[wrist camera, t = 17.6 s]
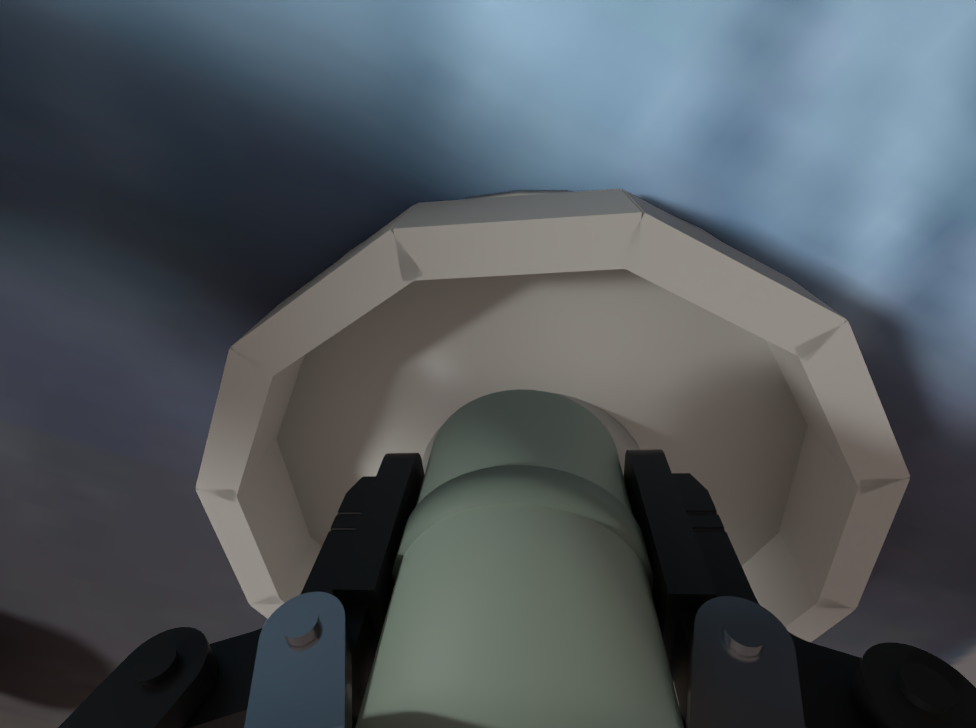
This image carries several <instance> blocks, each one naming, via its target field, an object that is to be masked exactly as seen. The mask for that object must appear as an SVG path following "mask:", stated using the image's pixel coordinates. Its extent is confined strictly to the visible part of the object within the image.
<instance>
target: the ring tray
mask: <svg viewBox="0 0 976 728" xmlns="http://www.w3.org/2000/svg"><path fill="white" fill-rule="evenodd" d="M517 389H524V390H538V391H545V392H549V393H553V394H557V395H560V396H563V397H565V398H568V399H570V400H572V401H574V402H576V403H578V404H580V405H582V406H583V407H585V408H586V409H587V410H589V411H590V412H592V413H593V414H594V415H595V416H596V417H597V418H598V419H599V420H600V421H601V422H602V423H603V424H604V426H605V427H606V428H607V429H608V431H609V433H610V434H611V436H612V438H613V440H614V443H615V445H616V448H617V451H618V456H619V460H620V464H621V468H622V472H623V476H624V464H625V453H626V451H627V450H651V449H661V450H663V452H664V454H665V456H666V459H667V462H668V464H669V467H670V470H671V472H672V473H690V474H691V475H692V476H693V477H694V478H695V479H696V480H697V481H698V482H700V483H701V484H702V485H703V486H704V487H705V488H706V489H707V490H708V492H709V494H710V496H711V499H712V501H713V503H714V505H715V508H716V510H717V515H719V517H720V519H721V521H722V523H723V526H724V530H725V532H727V535H728V537H729V539H730V541H731V543H732V546H733V548H734V550H735V552H736V555H737V557H738V559H739V561H740V564H741V566H742V568H743V570H744V573H745V575H746V577H747V579H748V581H749V584H750V586H751V588H752V590H753V593H754V595H755V597H756V599H757V601H758V603H759V604H760V606H762V607H764V608H765V609H767V610H768V611H769V612H771V613H772V614H773V615H774V616H775V617H777V618H778V619H779V620H780V621H781V623H782V624H783V625H784V626H785V627H786V629H787V631H788V632H790V633H792V634H793V635H795V636H797V637H799V638H801V639H803V640H805V641H808V642H812V641H813V640H815V639H816V638H817V637H819V636H820V635H821V634H823V633H824V632H826V631H827V630H828V629H830V628H831V627H832V626H834V625H835V624H837V623H838V622H839V621H841V620H842V619H843V618H845V617H846V616H848V615H849V614H850V613H852V612H853V611H854V610H855V609H854V608H857V606H858V604H859V601H860V599H861V596H862V594H863V592H864V589H865V587H866V584H867V582H868V579H869V577H870V575H871V572H872V570H873V567H874V565H875V563H876V560H877V558H878V555H879V553H880V550H881V548H882V546H883V543H884V541H885V538H886V536H887V534H888V531H889V529H890V526H891V524H892V521H893V519H894V517H895V514H896V512H897V509H898V507H899V505H900V502H901V500H902V497H903V495H904V492H905V490H906V488H907V485H908V483H909V480H910V478H909V477H910V474H909V472H908V469H907V467H906V464H905V462H904V459H903V457H902V454H901V452H900V449H899V447H898V444H897V442H896V439H895V437H894V434H893V432H892V429H891V427H890V424H889V422H888V419H887V417H886V414H885V412H884V409H883V407H882V404H881V402H880V399H879V397H878V394H877V392H876V389H875V387H874V384H873V382H872V379H871V377H870V374H869V371H868V369H867V366H866V364H865V361H864V359H863V356H862V354H861V351H860V349H859V346H858V344H857V341H856V339H855V336H854V334H853V331H852V329H851V326H850V324H849V321H847V320H846V319H845V318H844V317H843V316H841V315H840V314H839V313H837V312H836V311H834V310H833V309H832V308H830V307H829V306H828V305H826V304H825V303H823V302H822V301H821V300H819V299H818V298H817V297H815V296H814V295H812V294H811V293H810V292H808V291H807V290H805V289H804V288H803V287H801V286H800V285H799V284H797V283H796V282H794V281H793V280H792V279H790V278H789V277H787V276H785V275H783V274H781V273H779V272H777V271H776V270H774V269H772V268H770V267H768V266H766V265H764V264H762V263H761V262H759V261H757V260H755V259H753V258H751V257H749V256H747V255H746V254H744V253H742V252H740V251H738V250H736V249H734V248H732V247H731V246H729V245H727V244H725V243H723V242H722V241H720V240H718V239H717V238H715V237H714V236H712V235H711V234H709V233H707V232H706V231H704V230H703V229H701V228H700V227H697V226H695V225H693V224H691V223H688V222H686V221H684V220H681V219H679V218H677V217H675V216H672V215H670V214H669V213H667V212H665V211H663V210H661V209H659V208H657V207H655V206H654V205H652V204H650V203H648V202H646V201H644V200H642V199H640V198H639V197H637V196H635V195H633V194H631V193H629V192H627V191H625V190H624V189H622V190H621V189H620V188H619V189H605V190H591V191H577V192H576V191H568V190H515V191H508V192H501V193H494V194H487V195H480V196H473V197H468V198H464V199H461V200H449V201H435V202H421V203H417V204H416V205H415V204H414V205H412V206H411V207H410V208H408V209H407V210H406V211H404V212H403V213H402V214H400V215H399V216H398V217H396V218H395V219H393V220H392V221H391V222H389V223H388V224H387V225H385V226H384V227H383V228H381V229H380V230H379V231H377V232H376V233H375V234H373V235H372V236H371V237H369V238H368V239H366V240H365V241H363V242H362V243H360V244H359V245H357V246H355V247H354V248H352V249H351V250H350V251H349V252H347V253H346V254H345V255H344V256H343V257H342V258H340V259H339V260H338V261H337V262H335V263H334V264H333V265H331V266H330V267H329V268H327V269H326V270H325V271H323V272H322V273H321V274H319V275H318V276H316V277H315V278H314V279H312V280H311V281H310V282H308V283H307V284H306V285H304V286H303V287H302V288H300V289H299V290H298V291H296V292H295V293H293V294H292V295H291V296H289V297H288V298H287V299H285V300H284V301H283V302H281V303H280V304H279V305H277V306H276V307H275V308H274V309H273V310H272V311H271V312H270V313H268V314H267V315H266V316H265V317H264V318H263V319H262V320H260V321H259V322H258V323H257V324H256V325H255V326H254V327H252V328H251V329H250V330H249V331H248V332H247V333H246V334H245V335H243V336H242V337H241V338H240V339H239V340H238V341H237V342H235V343H234V344H233V345H232V346H231V348H230V349H229V352H228V356H227V360H226V364H225V368H224V373H223V377H222V381H221V385H220V389H219V393H218V397H217V401H216V406H215V410H214V414H213V418H212V422H211V426H210V430H209V434H208V438H207V443H206V447H205V451H204V455H203V459H202V463H201V467H200V471H199V476H198V480H197V484H196V488H197V489H196V492H197V494H198V496H199V498H200V500H201V502H202V504H203V507H204V509H205V511H206V513H207V515H208V517H209V519H210V521H211V524H212V526H213V528H214V530H215V532H216V534H217V536H218V539H219V541H220V543H221V545H222V547H223V549H224V551H225V553H226V556H227V558H228V560H229V562H230V564H231V566H232V568H233V571H234V573H235V575H236V577H237V579H238V581H239V583H240V585H241V588H242V590H243V592H244V594H245V596H246V598H247V600H248V603H249V604H251V606H252V607H253V608H254V609H256V610H257V611H258V612H260V613H261V614H262V615H264V616H265V617H266V618H267V619H268V618H269V617H270V616H271V615H272V613H273V612H274V611H275V610H276V609H277V608H279V607H280V606H281V605H282V604H284V603H285V602H287V601H288V600H290V599H292V598H294V597H296V596H298V595H300V594H301V592H302V590H303V588H304V585H305V583H306V581H307V579H308V577H309V574H310V572H311V570H312V568H313V565H314V563H315V561H316V559H317V557H318V554H319V552H320V550H321V548H322V545H323V543H324V541H325V539H326V537H327V534H328V532H329V531H331V525H332V523H333V521H334V519H335V517H336V515H338V510H339V508H340V505H341V503H342V501H343V499H344V497H345V494H346V493H347V492H348V491H349V490H350V489H351V488H352V487H353V486H354V485H355V484H356V483H357V482H358V481H359V480H360V479H361V478H362V477H365V476H376V475H377V473H378V470H379V468H380V465H381V462H382V460H383V458H384V456H385V454H387V453H419V454H420V456H421V459H422V464H423V470H424V475H425V471H426V468H427V464H428V460H429V457H430V453H431V449H432V446H433V442H434V440H435V438H436V435H437V433H438V431H439V430H440V428H441V427H442V425H443V424H444V423H445V422H446V420H447V419H448V418H449V417H450V416H451V415H452V414H453V413H455V412H456V411H457V410H458V409H459V408H461V407H462V406H464V405H466V404H467V403H469V402H471V401H473V400H475V399H477V398H479V397H482V396H485V395H488V394H491V393H495V392H500V391H505V390H517ZM673 683H674V682H673ZM674 687H675V686H674ZM675 691H676V690H675ZM676 695H677V694H676ZM677 699H678V698H677ZM678 704H679V702H678Z"/></svg>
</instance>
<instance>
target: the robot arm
mask: <svg viewBox="0 0 976 728" xmlns="http://www.w3.org/2000/svg"><path fill="white" fill-rule="evenodd" d="M423 479H424V470H423V464H422V459H421V456H420V454H419V453H387V454H385V456H384V458H383V460H382V462H381V465H380V468H379V470H378V473H377V475H376V476H365V477H362V478H361V479H360V480H359V481H358V482H357V483H356V484H355V485H354V486H353V487H352V488H351V489H350V490H349V491H348V492H347V493H346V494H345V497H344V499H343V501H342V503H341V505H340V508H339V510H338V515H336V517H335V519H334V521H333V523H332V525H331V531H329V532H328V534H327V537H326V539H325V541H324V543H323V545H322V548H321V550H320V552H319V554H318V557H317V559H316V561H315V563H314V565H313V568H312V570H311V572H310V574H309V577H308V579H307V581H306V583H305V585H304V588H303V590H302V592H301V594H300V595H298V596H296V597H294V598H292V599H290V600H288V601H287V602H285V603H284V604H282V605H281V606H280V607H279V608H277V609H276V610H275V611H274V612H273V613H272V615H271V616H270V617H269V618H268V620H267V621H266V623H265V624H264V626H263V628H261V629H259V630H256V631H253V632H250V633H246V634H243V635H240V636H236V637H233V638H229V639H226V640H222V641H219V642H215V643H212V644H209V643H208V641H207V639H206V637H205V636H204V634H203V633H202V632H201V631H199V630H197V629H195V628H190V627H180V628H174V629H170V630H167V631H165V632H162V633H160V634H158V635H156V636H154V637H152V638H150V639H149V640H147V641H146V642H144V643H143V644H141V645H140V646H139V647H138V648H136V649H135V650H134V651H133V652H132V653H131V654H130V655H129V656H128V657H127V658H126V659H125V660H124V661H123V662H122V663H121V664H120V665H119V666H118V667H117V668H116V669H115V670H114V671H113V672H112V673H111V674H110V675H109V676H108V677H107V678H106V679H105V680H104V681H103V682H102V683H101V684H100V685H99V686H98V687H97V688H96V690H95V691H94V692H93V693H92V694H91V695H90V696H89V697H88V698H87V699H86V700H85V701H84V702H83V703H82V704H81V705H80V706H79V707H78V708H77V709H76V710H75V711H74V712H73V713H72V714H71V715H70V716H69V717H68V718H67V719H66V720H65V721H64V722H63V723H62V724H61V725H60V726H59V727H58V728H355V727H356V723H357V720H358V716H359V712H360V709H361V705H362V701H363V698H364V694H365V690H366V687H367V683H368V680H369V676H370V672H371V669H372V665H373V661H374V658H375V654H376V650H377V647H378V643H379V639H380V636H381V632H382V628H383V625H384V621H385V617H386V614H387V610H388V606H389V603H390V599H391V596H392V592H393V588H394V585H395V584H394V580H393V576H392V571H393V567H394V563H395V559H396V555H397V552H398V548H399V545H400V541H401V538H402V534H403V531H404V528H405V525H406V523H407V520H408V518H409V516H410V514H411V513H412V511H413V510H414V509H415V507H416V504H417V501H418V497H419V493H420V490H421V486H422V482H423ZM624 480H625V485H626V489H627V493H628V497H629V501H630V505H631V509H632V513H633V516H634V518H635V519H636V521H637V523H638V524H639V526H640V528H641V531H642V533H643V536H644V539H645V543H646V547H647V551H648V554H649V558H650V562H651V566H652V570H653V574H654V581H653V589H652V596H653V600H654V604H655V608H656V613H657V617H658V621H659V625H660V629H661V633H662V637H663V642H664V646H665V650H666V654H667V658H668V662H669V666H670V670H671V675H672V679H673V682H674V686H675V690H676V694H677V698H678V702H679V708H680V712H681V716H682V720H683V724H684V728H976V688H975V687H974V686H973V685H972V684H971V683H970V682H969V681H968V680H967V679H966V678H965V677H964V676H963V675H961V674H960V673H959V672H958V671H957V670H956V669H954V668H953V667H952V666H950V665H949V664H947V663H946V662H944V661H943V660H941V659H939V658H938V657H936V656H934V655H932V654H930V653H928V652H926V651H924V650H921V649H919V648H916V647H913V646H910V645H906V644H900V643H881V644H877V645H875V646H872V647H871V648H870V649H868V650H867V651H866V653H865V654H864V656H863V658H860V657H856V656H853V655H850V654H846V653H843V652H840V651H836V650H833V649H830V648H826V647H823V646H820V645H816V644H813V643H811V642H808V641H805V640H803V639H801V638H799V637H797V636H795V635H793V634H792V633H790V632H788V631H787V629H786V627H785V626H784V625H783V624H782V623H781V621H780V620H779V619H778V618H777V617H775V616H774V615H773V614H772V613H771V612H769V611H768V610H767V609H765V608H764V607H762V606H760V604H759V603H758V601H757V599H756V597H755V595H754V593H753V590H752V588H751V586H750V584H749V581H748V579H747V577H746V575H745V573H744V570H743V568H742V566H741V564H740V561H739V559H738V557H737V555H736V552H735V550H734V548H733V546H732V543H731V541H730V539H729V537H728V535H727V532H725V530H724V526H723V523H722V521H721V519H720V517H719V515H717V510H716V508H715V505H714V503H713V501H712V499H711V496H710V494H709V492H708V490H707V489H706V488H705V487H704V486H703V485H702V484H701V483H700V482H698V481H697V480H696V479H695V478H694V477H693V476H692V475H691V474H690V473H672V472H671V470H670V467H669V464H668V462H667V459H666V456H665V454H664V452H663V450H661V449H651V450H627V451H626V453H625V464H624Z"/></svg>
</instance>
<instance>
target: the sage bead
mask: <svg viewBox="0 0 976 728" xmlns="http://www.w3.org/2000/svg"><path fill="white" fill-rule="evenodd" d="M392 576H393V580H394V584H395V585H394V588H393V592H392V596H391V599H390V603H389V606H388V610H387V614H386V617H385V621H384V625H383V628H382V632H381V636H380V639H379V643H378V647H377V650H376V654H375V658H374V661H373V665H372V669H371V672H370V676H369V680H368V683H367V687H366V690H365V694H364V698H363V701H362V705H361V709H360V712H359V716H358V720H357V723H356V727H355V728H684V724H683V720H682V716H681V712H680V708H679V704H678V699H677V695H676V691H675V687H674V683H673V679H672V675H671V670H670V666H669V662H668V658H667V654H666V650H665V646H664V642H663V637H662V633H661V629H660V625H659V621H658V617H657V613H656V608H655V604H654V600H653V596H652V589H653V581H654V574H653V570H652V566H651V562H650V558H649V554H648V551H647V547H646V543H645V539H644V536H643V533H642V531H641V528H640V526H639V524H638V523H637V521H636V519H635V518H634V516H633V513H632V509H631V505H630V501H629V497H628V493H627V489H626V485H625V480H624V476H623V472H622V468H621V464H620V460H619V456H618V451H617V448H616V445H615V443H614V440H613V438H612V436H611V434H610V433H609V431H608V429H607V428H606V427H605V426H604V424H603V423H602V422H601V421H600V420H599V419H598V418H597V417H596V416H595V415H594V414H593V413H592V412H590V411H589V410H587V409H586V408H585V407H583V406H582V405H580V404H578V403H576V402H574V401H572V400H570V399H568V398H565V397H563V396H560V395H557V394H553V393H549V392H545V391H538V390H524V389H517V390H505V391H500V392H495V393H491V394H488V395H485V396H482V397H479V398H477V399H475V400H473V401H471V402H469V403H467V404H466V405H464V406H462V407H461V408H459V409H458V410H457V411H456V412H455V413H453V414H452V415H451V416H450V417H449V418H448V419H447V420H446V422H445V423H444V424H443V425H442V427H441V428H440V430H439V431H438V433H437V435H436V438H435V440H434V442H433V446H432V449H431V453H430V457H429V460H428V464H427V468H426V471H425V475H424V479H423V482H422V486H421V490H420V493H419V497H418V501H417V504H416V507H415V509H414V510H413V511H412V513H411V514H410V516H409V518H408V520H407V523H406V525H405V528H404V531H403V534H402V538H401V541H400V545H399V548H398V552H397V555H396V559H395V563H394V567H393V571H392Z"/></svg>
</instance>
